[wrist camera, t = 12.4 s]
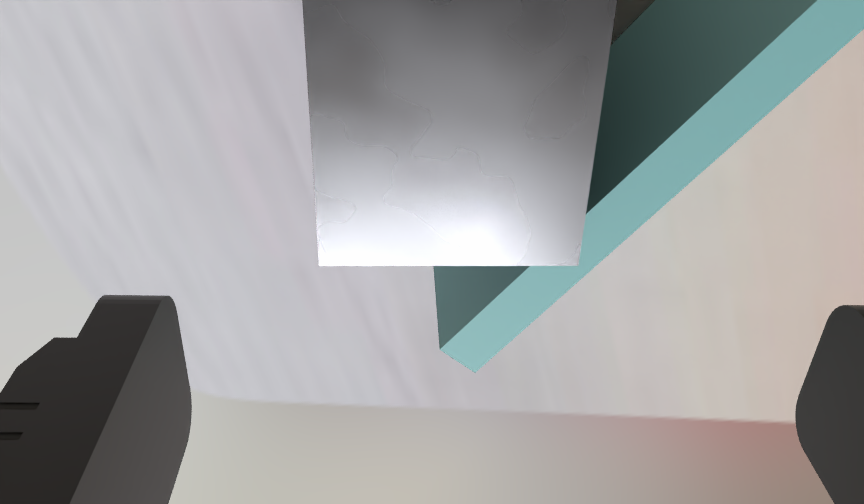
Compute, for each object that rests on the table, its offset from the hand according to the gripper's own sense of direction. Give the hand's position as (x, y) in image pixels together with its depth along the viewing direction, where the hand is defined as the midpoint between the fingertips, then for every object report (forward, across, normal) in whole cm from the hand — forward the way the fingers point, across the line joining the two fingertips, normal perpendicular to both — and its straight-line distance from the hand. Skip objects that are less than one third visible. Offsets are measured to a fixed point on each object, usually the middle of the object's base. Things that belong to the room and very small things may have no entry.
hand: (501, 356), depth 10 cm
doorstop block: (+14, 0, 0) cm, 14 cm away
